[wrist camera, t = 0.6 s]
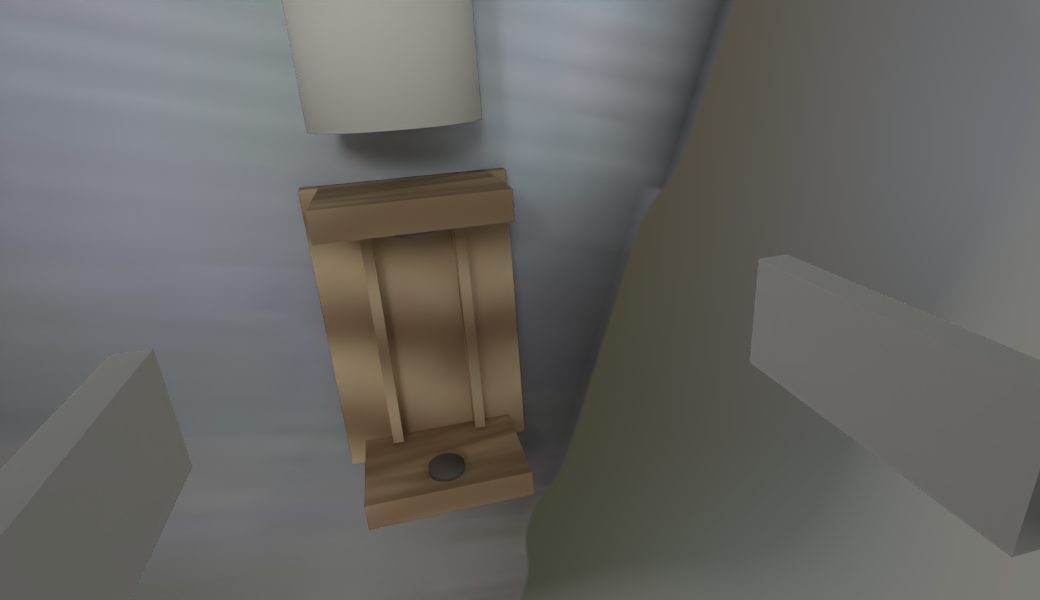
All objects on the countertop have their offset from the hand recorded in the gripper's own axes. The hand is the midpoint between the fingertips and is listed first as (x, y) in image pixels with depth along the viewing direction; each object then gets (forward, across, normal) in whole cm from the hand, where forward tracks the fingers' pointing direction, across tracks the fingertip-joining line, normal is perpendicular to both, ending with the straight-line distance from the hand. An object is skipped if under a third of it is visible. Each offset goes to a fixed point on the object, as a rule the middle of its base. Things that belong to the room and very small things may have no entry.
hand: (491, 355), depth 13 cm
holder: (+21, -1, -8) cm, 23 cm away
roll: (+22, -1, +8) cm, 23 cm away
